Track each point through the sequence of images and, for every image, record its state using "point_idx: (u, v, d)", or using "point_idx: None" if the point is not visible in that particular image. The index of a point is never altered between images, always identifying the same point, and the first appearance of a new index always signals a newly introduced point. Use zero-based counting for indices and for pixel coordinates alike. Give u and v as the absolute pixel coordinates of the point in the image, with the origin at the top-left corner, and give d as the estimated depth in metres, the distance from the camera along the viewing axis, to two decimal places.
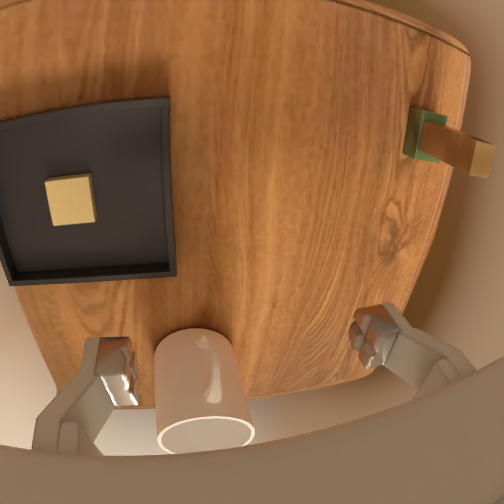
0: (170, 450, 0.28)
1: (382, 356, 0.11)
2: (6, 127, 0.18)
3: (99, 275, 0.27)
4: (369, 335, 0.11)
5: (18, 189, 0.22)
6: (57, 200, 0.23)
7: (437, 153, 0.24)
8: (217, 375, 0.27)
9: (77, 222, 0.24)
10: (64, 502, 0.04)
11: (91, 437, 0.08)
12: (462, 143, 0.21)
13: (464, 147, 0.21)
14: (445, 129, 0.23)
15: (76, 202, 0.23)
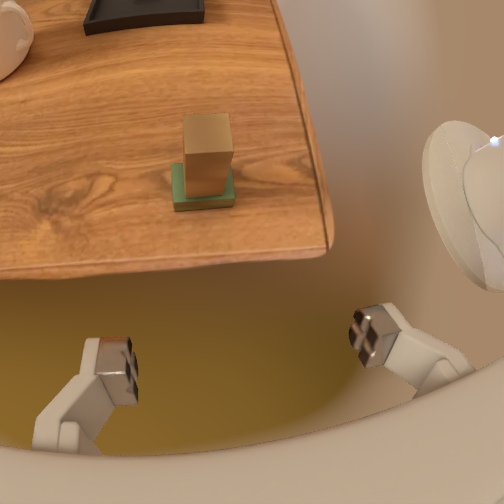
0: None
1: (382, 356, 0.11)
2: None
3: None
4: (370, 335, 0.11)
5: None
6: None
7: None
8: (20, 9, 0.20)
9: None
10: (64, 502, 0.04)
11: (91, 437, 0.08)
12: None
13: None
14: None
15: None
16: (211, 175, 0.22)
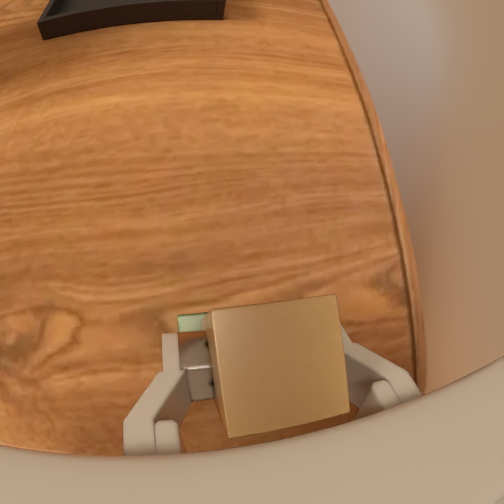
0: None
1: None
2: None
3: None
4: None
5: None
6: None
7: None
8: None
9: None
10: (64, 502, 0.04)
11: None
12: None
13: None
14: None
15: None
16: None
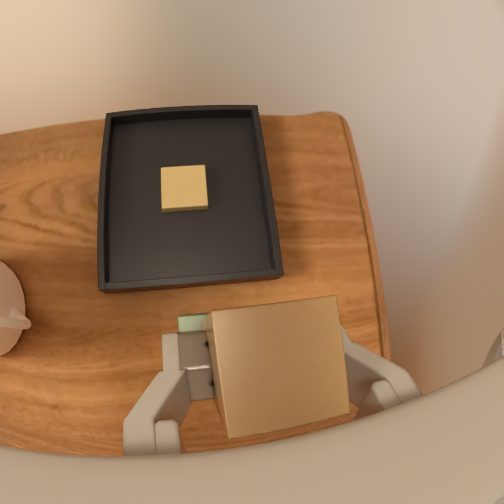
0: None
1: None
2: (257, 135, 0.30)
3: (104, 206, 0.26)
4: None
5: (196, 140, 0.30)
6: (186, 174, 0.28)
7: None
8: None
9: (162, 191, 0.27)
10: (64, 502, 0.04)
11: None
12: None
13: None
14: None
15: (183, 192, 0.28)
16: None
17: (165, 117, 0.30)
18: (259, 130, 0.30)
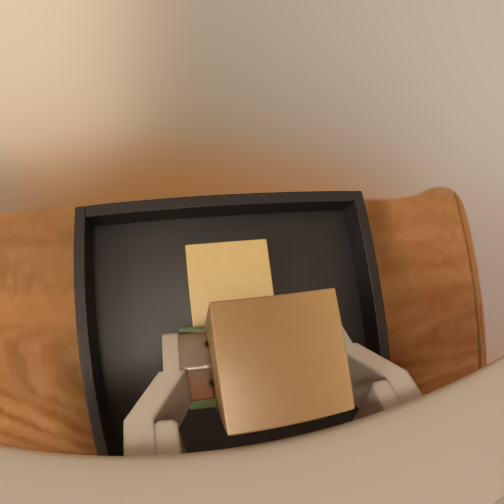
0: None
1: None
2: (368, 259, 0.16)
3: (100, 416, 0.12)
4: None
5: None
6: (234, 259, 0.16)
7: None
8: None
9: (192, 294, 0.15)
10: (64, 502, 0.04)
11: None
12: None
13: None
14: None
15: (230, 295, 0.15)
16: None
17: (193, 214, 0.16)
18: (370, 247, 0.17)
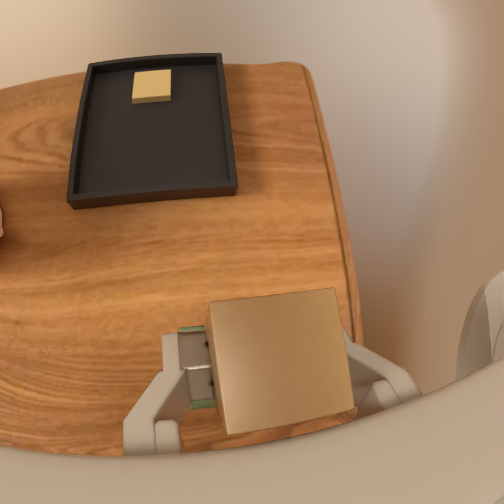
0: None
1: None
2: (219, 75, 0.31)
3: (79, 133, 0.26)
4: None
5: None
6: (154, 75, 0.30)
7: None
8: None
9: (134, 87, 0.29)
10: (64, 502, 0.04)
11: None
12: None
13: None
14: None
15: (150, 87, 0.29)
16: None
17: (139, 65, 0.30)
18: (221, 71, 0.31)
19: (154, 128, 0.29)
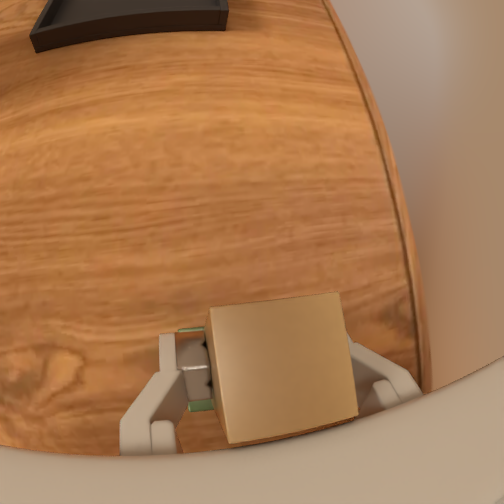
0: None
1: None
2: None
3: None
4: None
5: None
6: None
7: None
8: None
9: None
10: (64, 502, 0.04)
11: None
12: None
13: None
14: None
15: None
16: None
17: None
18: None
19: None
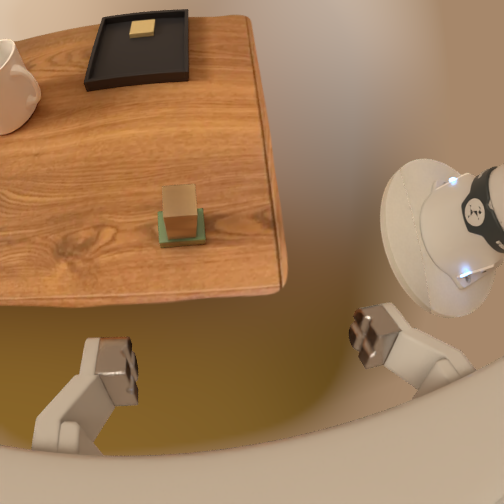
0: None
1: (382, 356, 0.11)
2: (185, 20, 0.42)
3: (95, 51, 0.38)
4: (370, 335, 0.11)
5: None
6: (144, 22, 0.42)
7: None
8: (28, 73, 0.28)
9: (131, 28, 0.41)
10: (64, 502, 0.04)
11: (91, 437, 0.08)
12: None
13: None
14: None
15: (141, 28, 0.41)
16: (184, 227, 0.31)
17: (135, 18, 0.42)
18: (186, 18, 0.43)
19: (142, 49, 0.41)
